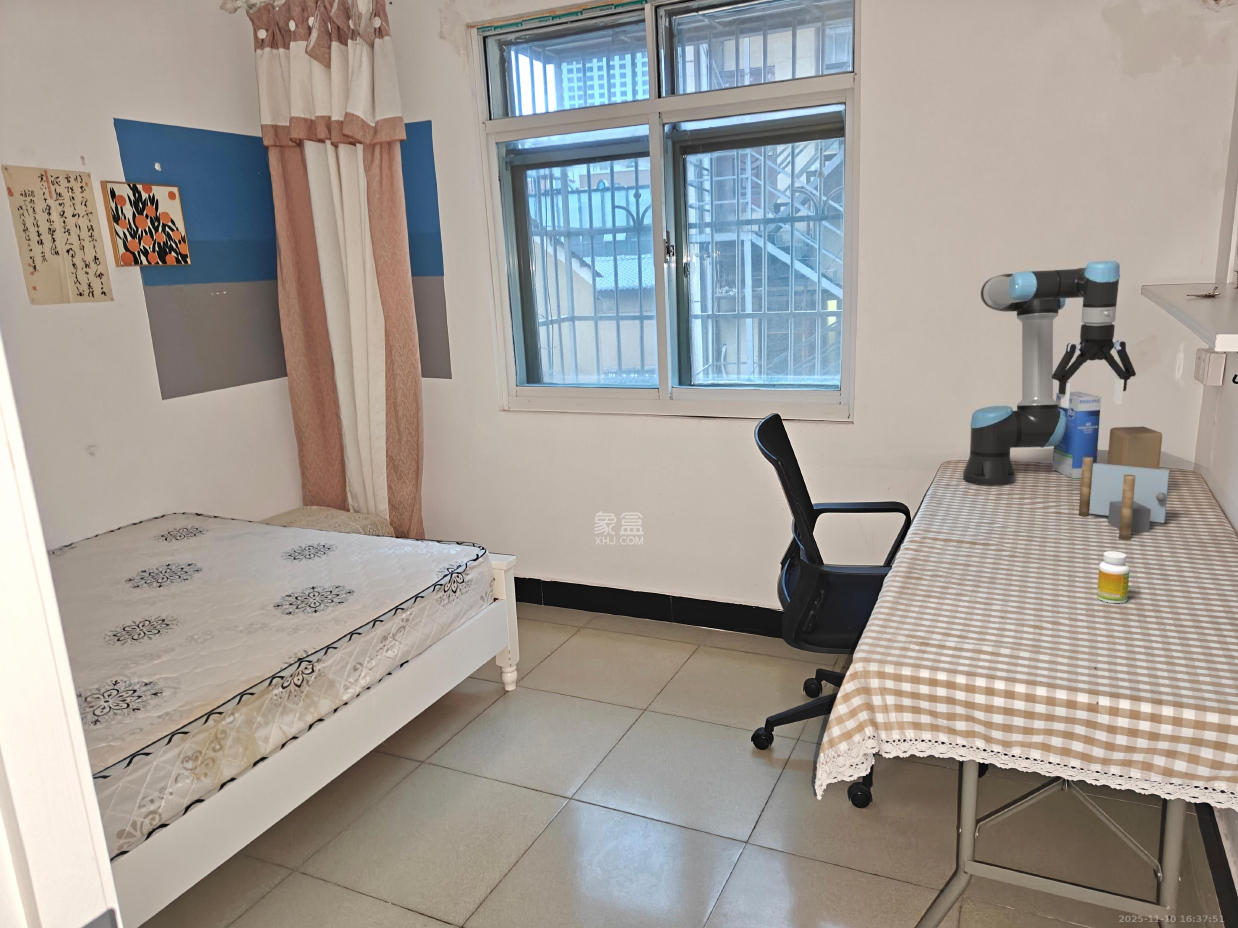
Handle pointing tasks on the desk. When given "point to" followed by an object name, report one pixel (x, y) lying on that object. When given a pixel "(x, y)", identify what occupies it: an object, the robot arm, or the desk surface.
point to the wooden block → (1135, 447)
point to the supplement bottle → (1113, 578)
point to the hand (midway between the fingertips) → (1090, 405)
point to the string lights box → (1078, 433)
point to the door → (1146, 492)
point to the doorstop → (1138, 516)
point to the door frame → (1126, 498)
